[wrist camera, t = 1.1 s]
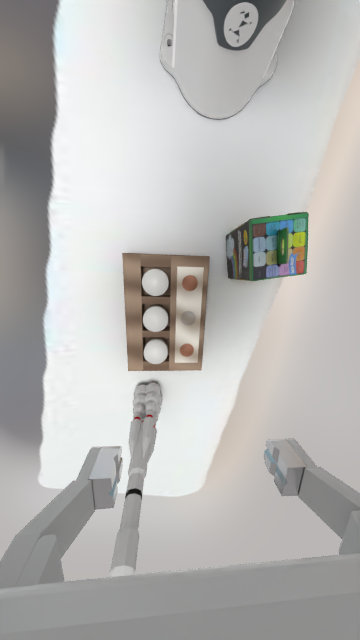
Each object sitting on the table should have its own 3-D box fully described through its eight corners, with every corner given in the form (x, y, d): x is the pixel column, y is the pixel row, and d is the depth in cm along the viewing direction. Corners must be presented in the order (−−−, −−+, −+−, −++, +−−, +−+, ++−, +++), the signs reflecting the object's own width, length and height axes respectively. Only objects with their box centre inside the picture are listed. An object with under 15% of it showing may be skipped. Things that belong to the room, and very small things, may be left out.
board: (127, 254, 36) (121, 252, 32) (205, 257, 37) (210, 256, 33) (131, 361, 42) (128, 371, 38) (198, 361, 44) (201, 371, 39)
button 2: (143, 268, 34) (141, 268, 31) (168, 269, 35) (168, 269, 32) (144, 293, 36) (142, 295, 33) (168, 294, 36) (168, 296, 33)
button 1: (145, 336, 38) (143, 342, 35) (167, 337, 38) (167, 342, 36) (145, 357, 39) (143, 364, 36) (167, 357, 40) (167, 364, 37)
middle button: (144, 304, 36) (142, 307, 33) (168, 304, 37) (168, 307, 34) (144, 327, 37) (143, 331, 35) (167, 327, 38) (167, 331, 35)
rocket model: (153, 407, 46) (129, 633, 17) (128, 393, 45) (58, 617, 16) (169, 386, 45) (174, 594, 16) (145, 372, 43) (101, 573, 15)
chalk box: (268, 274, 39) (325, 276, 25) (227, 279, 39) (261, 284, 25) (268, 228, 37) (333, 201, 22) (224, 233, 36) (262, 209, 22)
